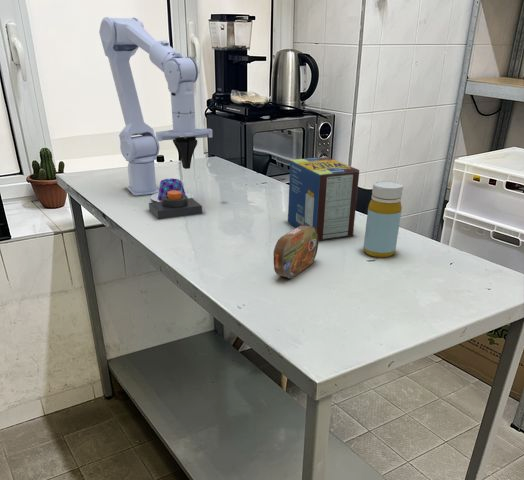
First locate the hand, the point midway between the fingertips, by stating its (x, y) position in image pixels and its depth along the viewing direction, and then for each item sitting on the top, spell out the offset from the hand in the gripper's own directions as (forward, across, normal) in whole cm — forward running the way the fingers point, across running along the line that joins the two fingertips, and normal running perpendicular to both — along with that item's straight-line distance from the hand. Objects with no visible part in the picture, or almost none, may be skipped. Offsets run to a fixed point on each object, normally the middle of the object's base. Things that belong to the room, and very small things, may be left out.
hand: (186, 167), depth 142 cm
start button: (+7, -5, -3) cm, 9 cm away
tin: (+10, +6, -50) cm, 52 cm away
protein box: (+10, +24, -30) cm, 40 cm away
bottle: (+10, +28, -49) cm, 57 cm away
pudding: (+11, -2, +9) cm, 14 cm away
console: (+10, -5, -3) cm, 12 cm away
